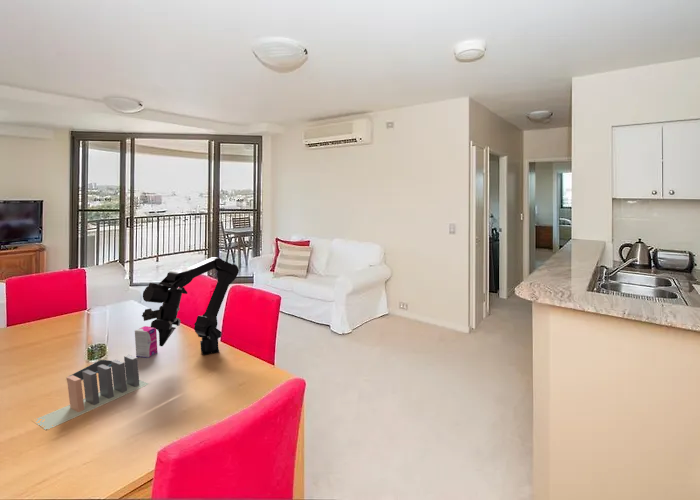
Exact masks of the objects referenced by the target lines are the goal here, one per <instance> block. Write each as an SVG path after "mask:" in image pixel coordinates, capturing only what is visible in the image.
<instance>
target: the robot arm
mask: <svg viewBox="0 0 700 500" xmlns="http://www.w3.org/2000/svg"><path fill="white" fill-rule="evenodd" d="M212 270H215V271H217V273H216V275H217V276H216V278H217V281H216V285H215V287H214V290H213V292H212V294H211V297H210V300H209V301H208V302H209V303H208V305H207V308H206V310H205V311H204V313H203V314H202V315H198V316H197V317H196V320H195V322H194V324H193V325H194V328H193V330H194V333H195V334H196V335H197V336H198V338H201V340H199V343H200V353H201V354H202V355H203V356H204V355H205V356H206V355H210V354H217V353H220V349H219V338H221V337H222V333H223V332H222V331H221V330H220V329H218V328H217V327H218V314H219V312H220V309H221V306H222V304H223V301H224V299H225V296H226V293H227V292H228V288H229V286H230V285H231V284H232V283H233V282H234V281H236V278H237V277H238V275H239V272H240V269H239V266H238V265H237V264H235V263H230V262H228V261H226V260H223V259H222V258H220V257H216V256H211V257H209V258H207V259H206V260H203V261H201V262H199V263H196V264H194V265H193V264H192V265H191V266H189V267H186V268H178V269H174V270H170V271H168V272H167V275H166V276H165V278H163V279H162V280H161V281H160V282H159V283H154V282H149V284H148V286H146V287H145V289H144V290H143V293H142V299H143V301H144V302H146V303H147V302H148V303H157V304H162V305H160V306H159V309H156V310H155V309H154V310H153V309H152V308H147V309H146V308H145V310H144V312H142V315H141V317H142V318H143V321H144V322H145V321H149V320H152V321H151V324H150V327H152V328H156V331H158V342H159V345H158V346H159V347H164V345H165V344H166V342H167V341H168V340H169V338H170V337H171V335H172V334H173V333H174V331H175V330H176V329H177V328H176V327H179V326H180V324H181V319H180V317H178V312H179V311H180V308H181V307H180V304H181V300H182V296H183V294H185V295H187V294H188V291H187V289H186V288H185V287H186V286H188V284H190V283H191V282H192V280H193V279H195V278H196V277H199V276H200V275H202V274H203V275H204V274H206V273H208V272H210V271H212ZM153 319H154V320H153ZM174 325H175V326H176V327H175V326H174Z"/></svg>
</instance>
